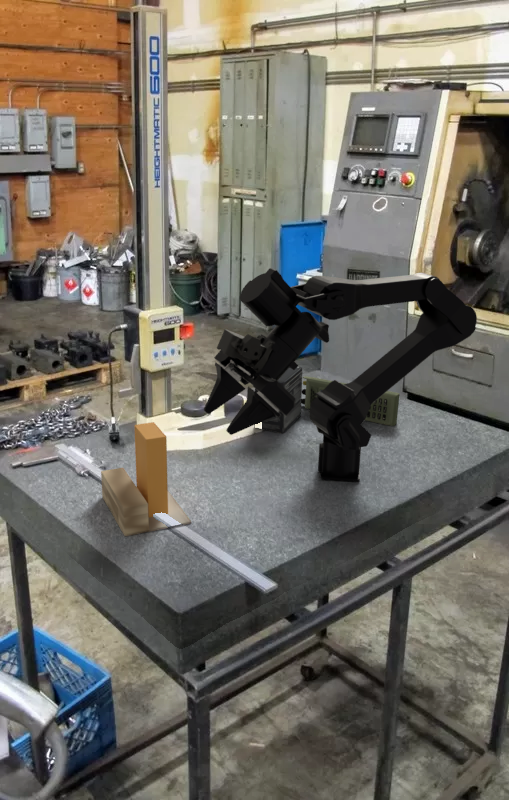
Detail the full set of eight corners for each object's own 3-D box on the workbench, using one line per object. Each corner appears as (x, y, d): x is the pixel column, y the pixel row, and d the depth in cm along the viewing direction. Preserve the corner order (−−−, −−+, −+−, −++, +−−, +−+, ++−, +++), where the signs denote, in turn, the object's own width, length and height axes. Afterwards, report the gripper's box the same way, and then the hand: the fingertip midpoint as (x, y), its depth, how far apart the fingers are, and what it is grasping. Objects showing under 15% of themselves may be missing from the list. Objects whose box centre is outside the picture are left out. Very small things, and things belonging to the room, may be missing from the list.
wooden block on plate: (163, 486, 123) (163, 460, 121) (191, 523, 112) (191, 495, 110) (102, 497, 119) (101, 471, 117) (124, 536, 108) (123, 508, 106)
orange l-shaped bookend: (155, 496, 119) (153, 422, 114) (168, 513, 114) (166, 436, 109) (121, 503, 117) (117, 427, 112) (132, 520, 111) (129, 442, 107)
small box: (272, 410, 156) (273, 361, 153) (302, 415, 154) (304, 366, 150) (252, 428, 147) (253, 376, 143) (283, 434, 145) (285, 381, 141)
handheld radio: (392, 428, 149) (278, 405, 160) (398, 423, 152) (285, 401, 163) (395, 396, 147) (280, 374, 158) (401, 391, 150) (287, 371, 161)
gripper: (226, 298, 120) (160, 372, 119) (278, 326, 104) (203, 412, 103) (270, 341, 126) (207, 413, 125) (326, 374, 110) (255, 456, 109)
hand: (216, 422), depth 116 cm, fingers open, 9 cm apart
